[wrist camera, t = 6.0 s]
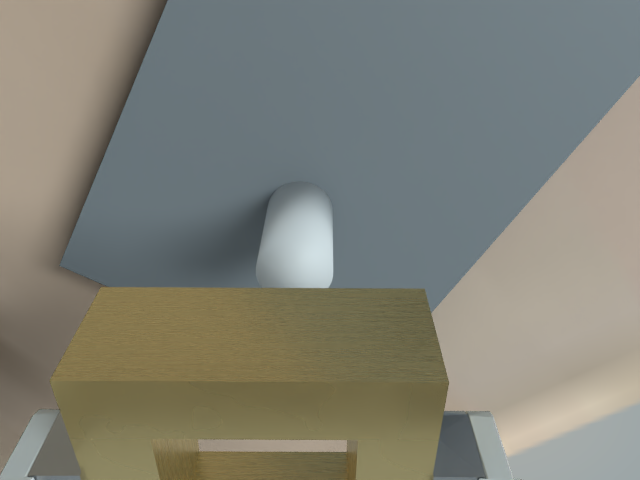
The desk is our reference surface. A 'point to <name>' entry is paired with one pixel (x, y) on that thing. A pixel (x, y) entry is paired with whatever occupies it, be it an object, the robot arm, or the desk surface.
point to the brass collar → (253, 383)
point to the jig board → (344, 138)
